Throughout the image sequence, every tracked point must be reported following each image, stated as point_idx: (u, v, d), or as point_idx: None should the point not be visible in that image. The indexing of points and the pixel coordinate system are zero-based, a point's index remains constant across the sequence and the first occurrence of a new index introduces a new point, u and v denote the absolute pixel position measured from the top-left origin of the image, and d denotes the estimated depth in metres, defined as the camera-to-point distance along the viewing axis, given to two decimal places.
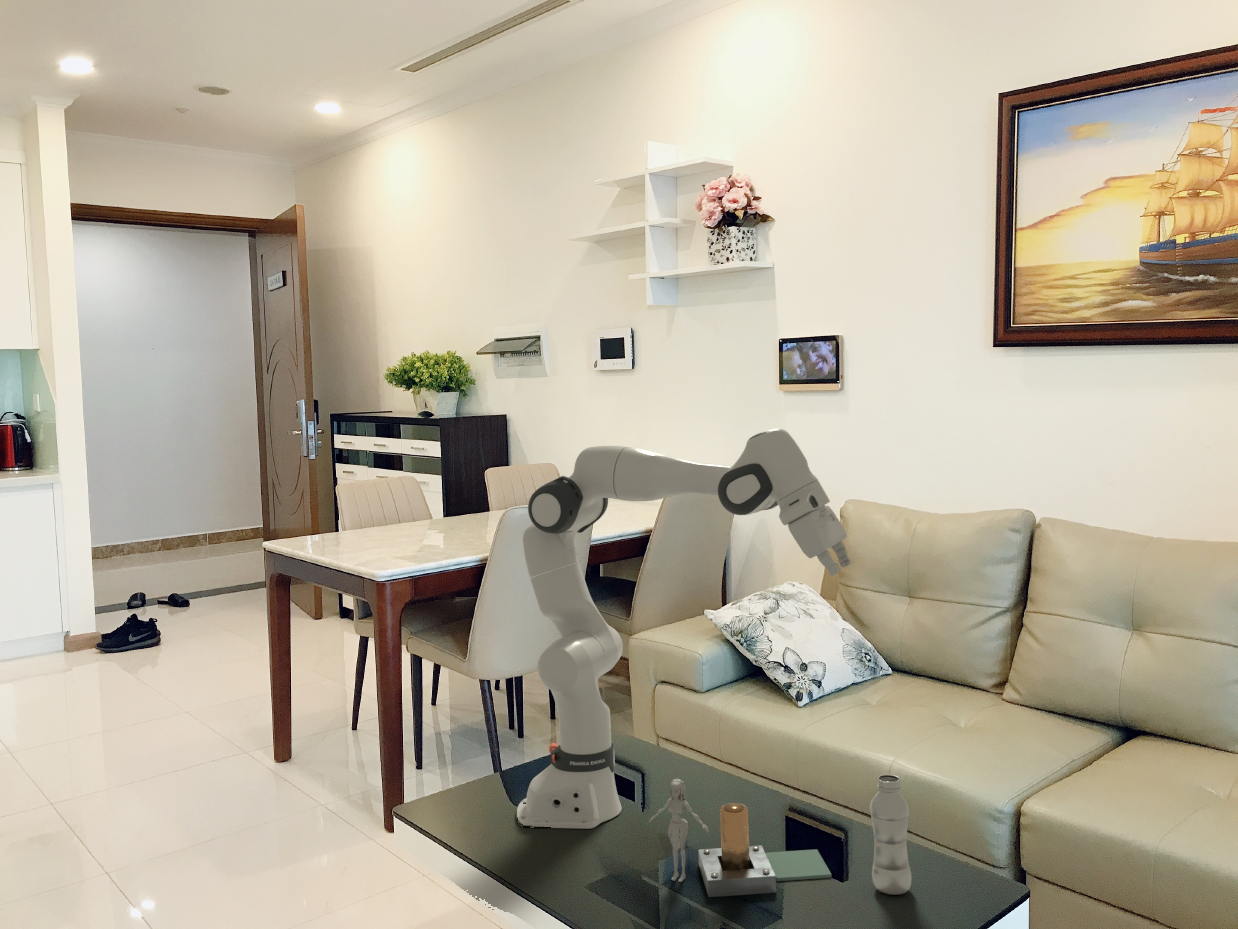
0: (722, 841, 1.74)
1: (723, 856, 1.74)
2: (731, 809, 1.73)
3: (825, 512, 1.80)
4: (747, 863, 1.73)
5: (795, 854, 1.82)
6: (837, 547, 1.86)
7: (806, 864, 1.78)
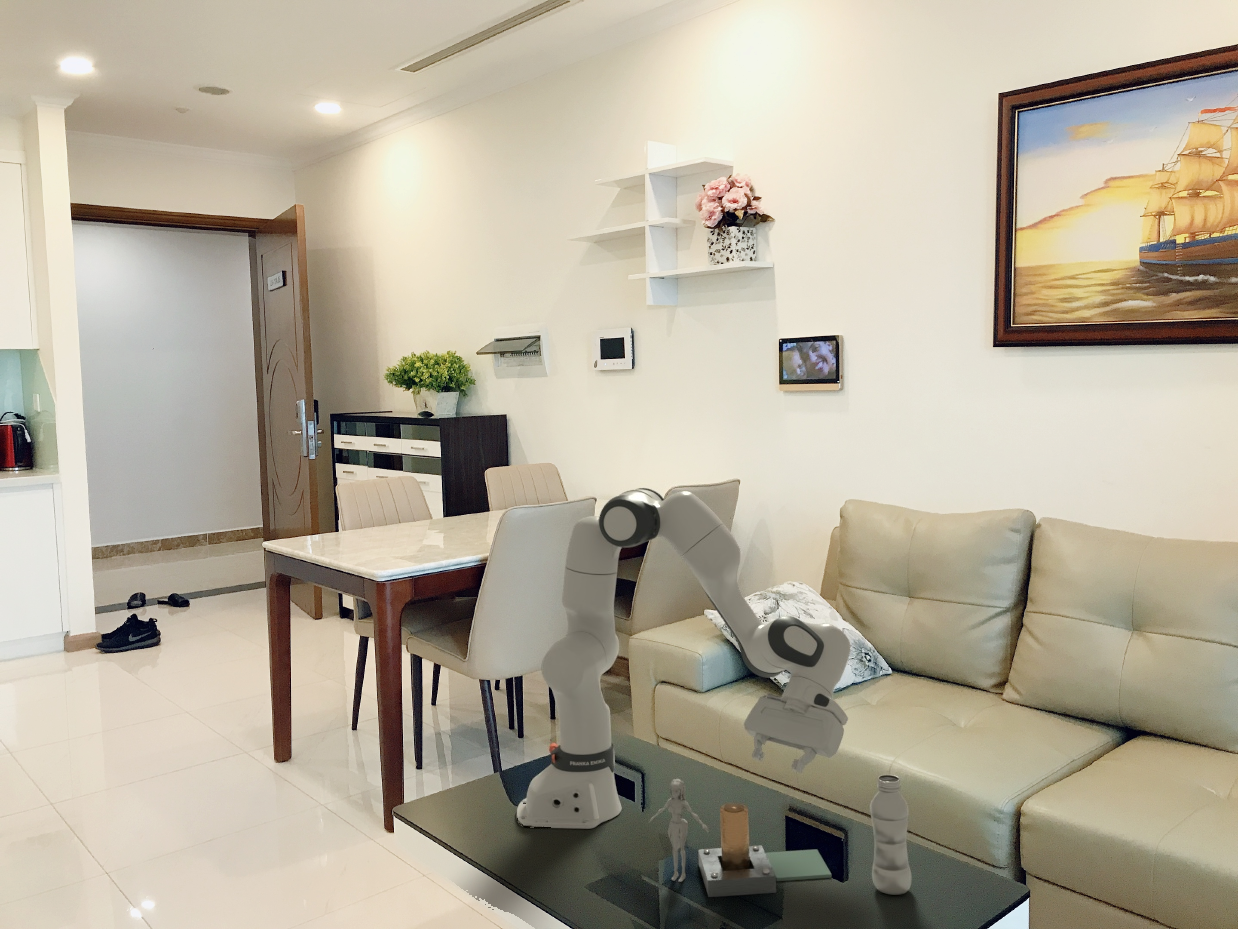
0: (722, 841, 1.74)
1: (723, 856, 1.74)
2: (731, 809, 1.73)
3: None
4: (747, 863, 1.73)
5: (795, 854, 1.82)
6: (762, 740, 1.88)
7: (806, 864, 1.78)
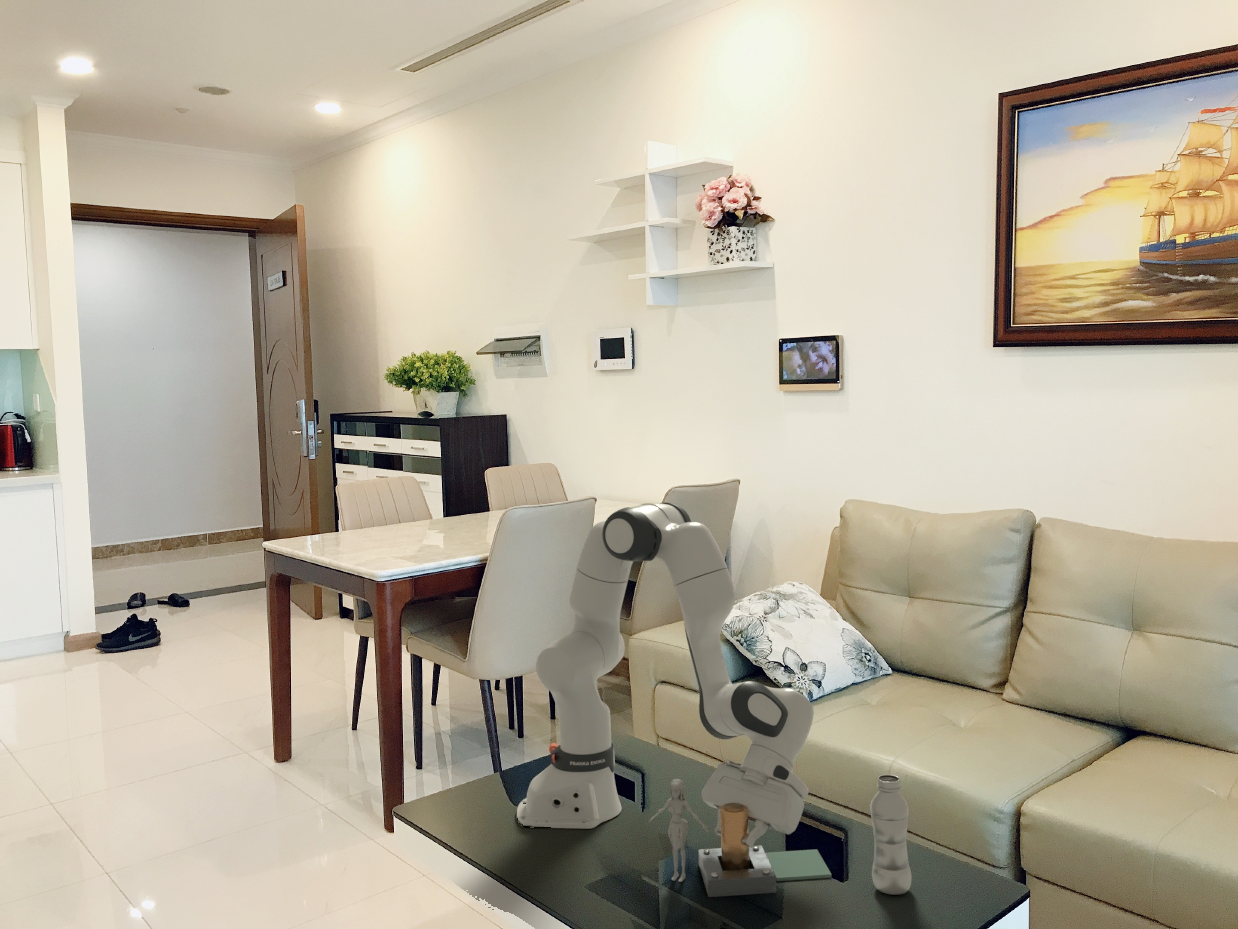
0: (722, 841, 1.74)
1: (723, 856, 1.74)
2: (731, 809, 1.73)
3: None
4: (747, 863, 1.73)
5: (795, 854, 1.82)
6: None
7: (806, 864, 1.78)
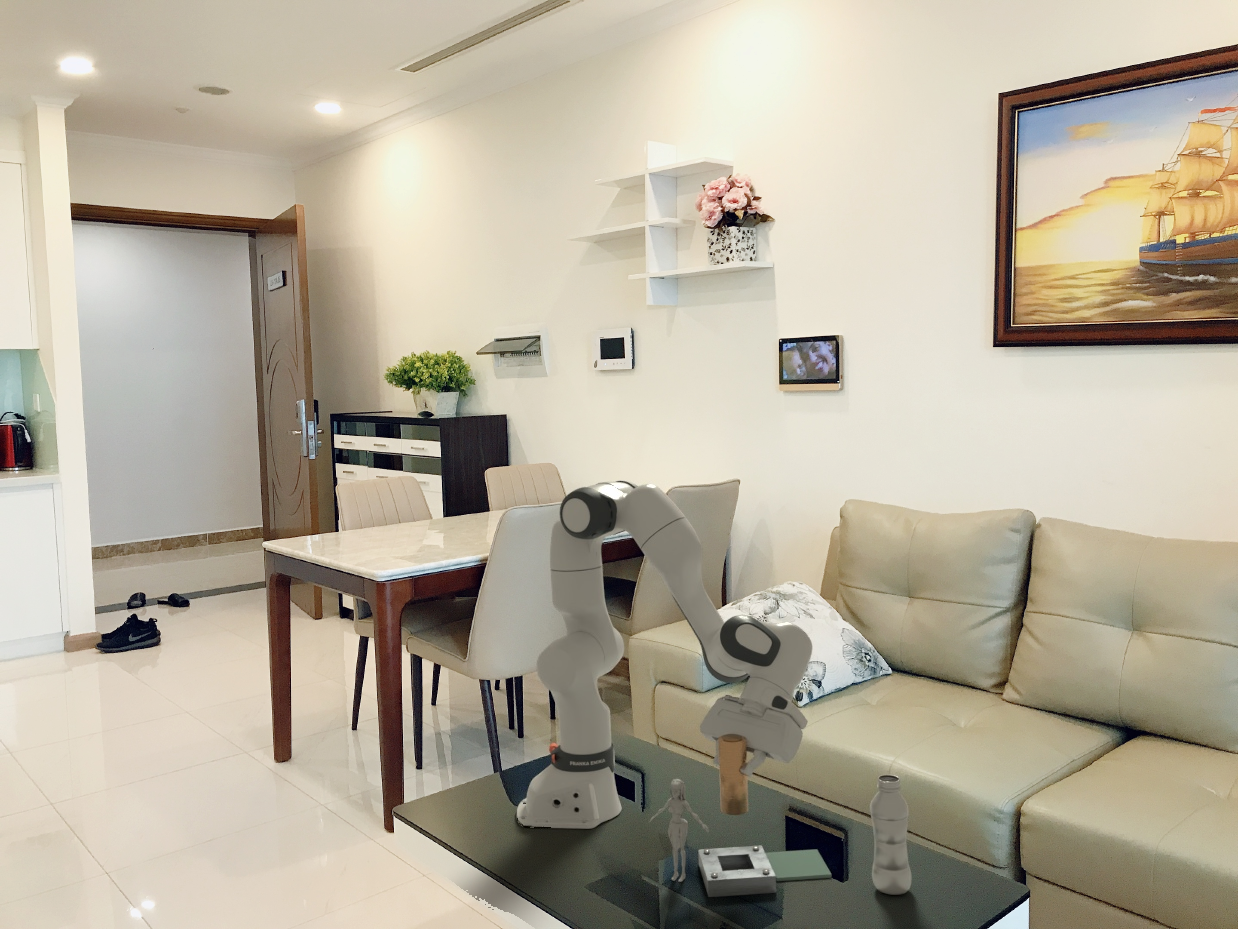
0: (720, 771, 1.73)
1: (721, 786, 1.73)
2: (729, 739, 1.73)
3: None
4: (745, 793, 1.73)
5: (795, 854, 1.82)
6: None
7: (806, 864, 1.78)
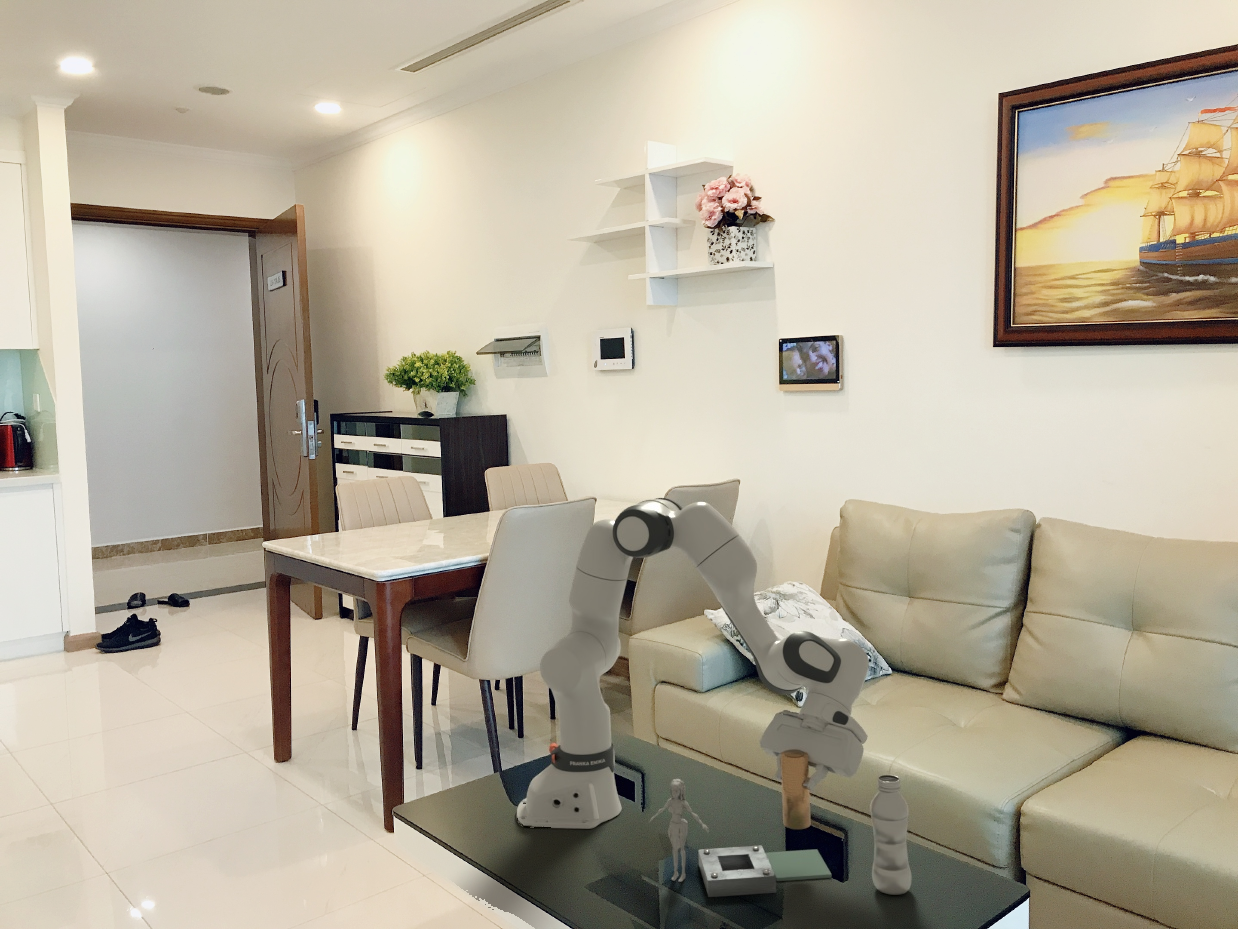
0: (783, 786, 1.77)
1: (784, 801, 1.77)
2: (792, 754, 1.77)
3: None
4: (808, 807, 1.77)
5: (795, 854, 1.82)
6: None
7: (806, 864, 1.78)
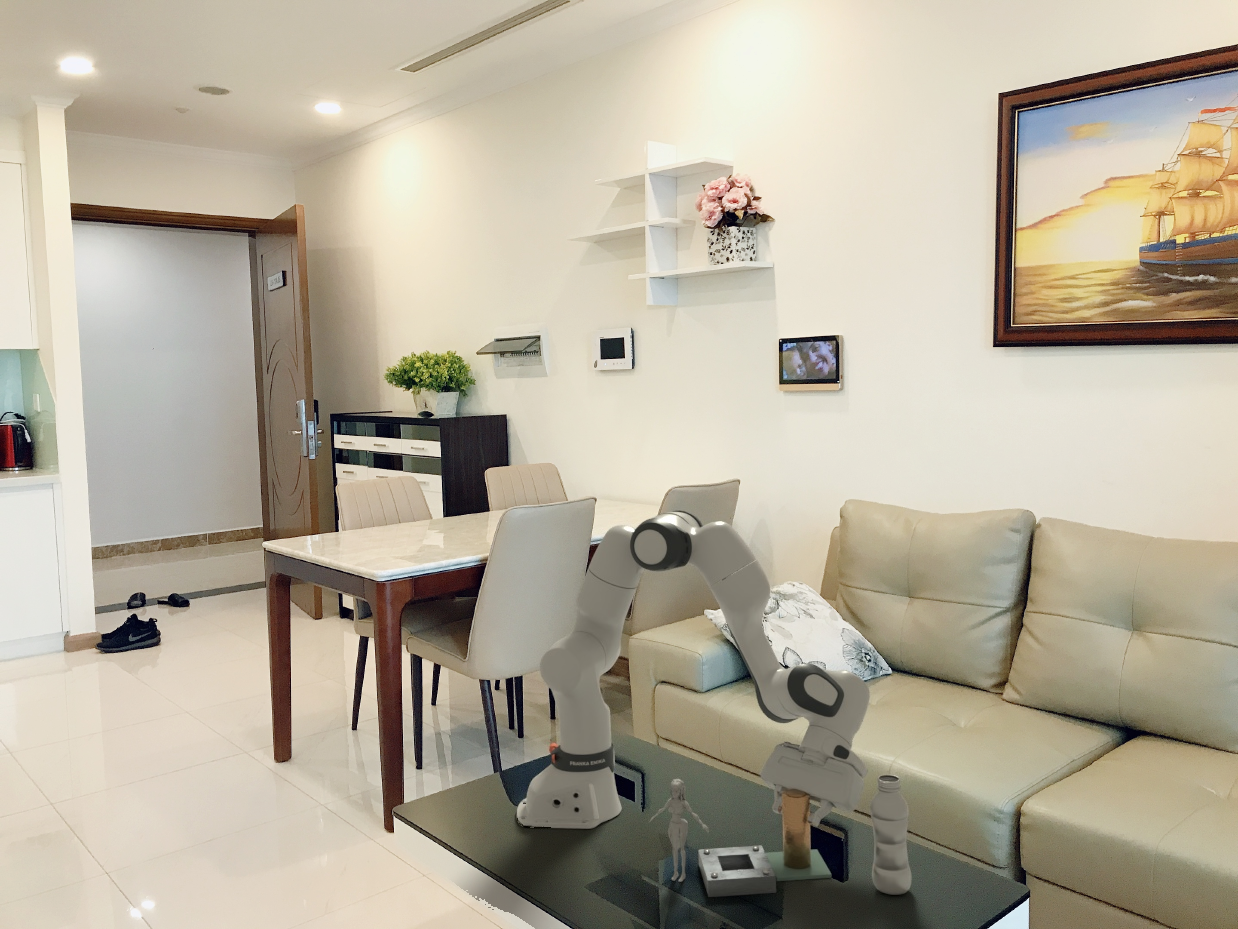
0: (784, 826, 1.78)
1: (785, 840, 1.78)
2: (793, 794, 1.77)
3: None
4: (808, 848, 1.77)
5: None
6: None
7: None
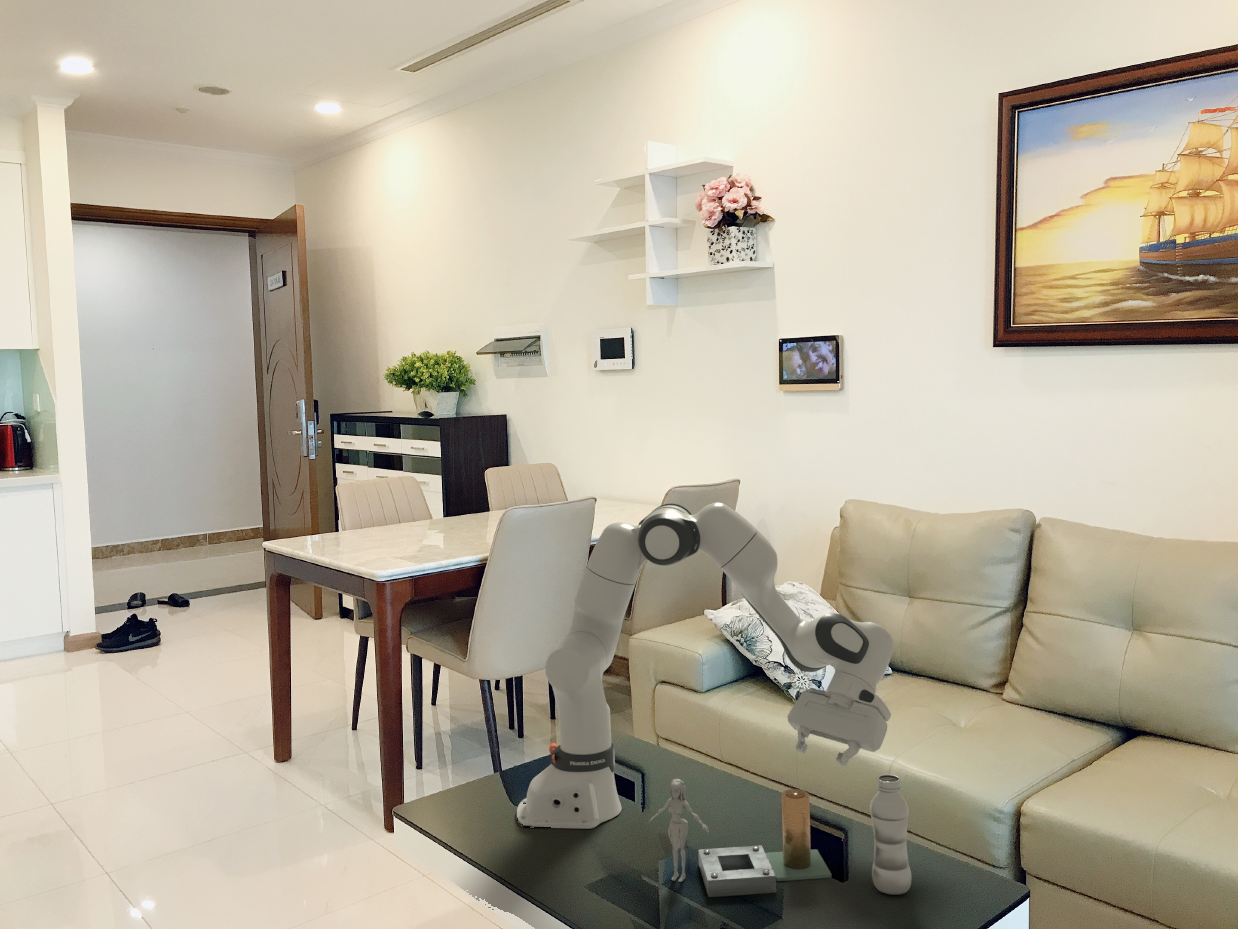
0: (784, 826, 1.78)
1: (785, 841, 1.77)
2: (793, 795, 1.77)
3: None
4: (808, 848, 1.77)
5: None
6: (806, 733, 1.93)
7: None
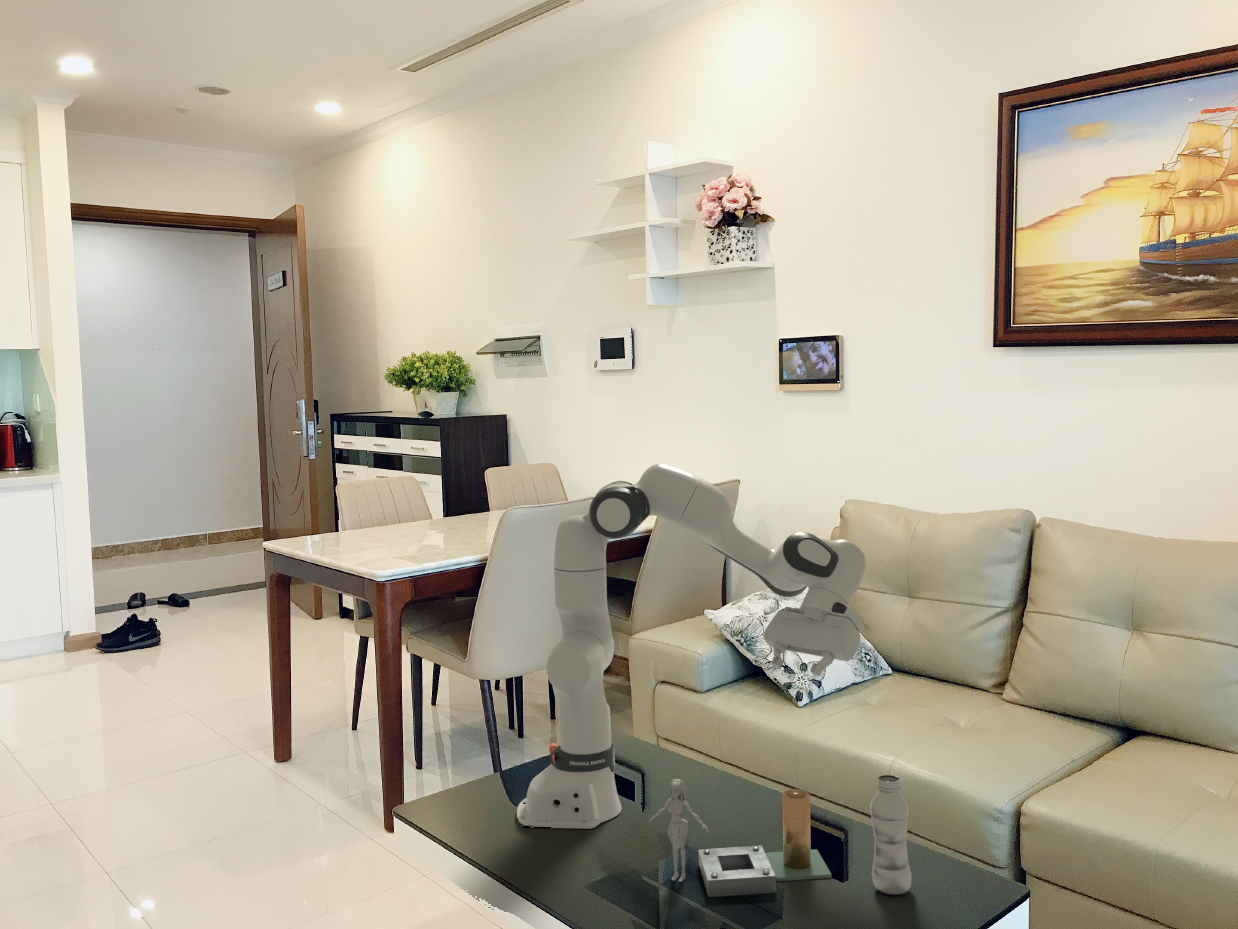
0: (784, 826, 1.77)
1: (785, 841, 1.77)
2: (794, 795, 1.77)
3: None
4: (809, 848, 1.77)
5: None
6: (781, 649, 1.95)
7: None
